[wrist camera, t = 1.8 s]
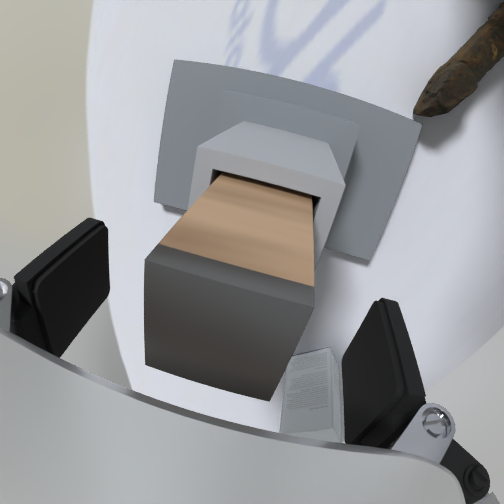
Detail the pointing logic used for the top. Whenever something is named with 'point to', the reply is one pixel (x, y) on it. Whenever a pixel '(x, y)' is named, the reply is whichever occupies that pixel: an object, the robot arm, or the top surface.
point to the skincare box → (312, 397)
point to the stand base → (285, 148)
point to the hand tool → (464, 69)
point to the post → (232, 287)
